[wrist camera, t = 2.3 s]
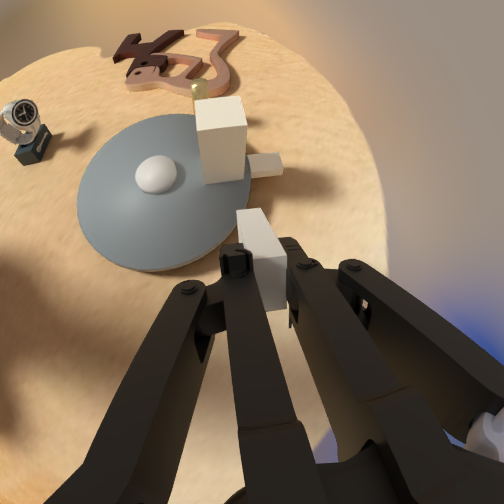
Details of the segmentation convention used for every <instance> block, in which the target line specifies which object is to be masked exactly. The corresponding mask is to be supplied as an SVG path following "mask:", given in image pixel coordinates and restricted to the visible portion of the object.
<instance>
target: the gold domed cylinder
mask: <svg viewBox="0 0 504 504" xmlns="http://www.w3.org/2000/svg"><path fill="white" fill-rule="evenodd" d="M190 85H191V93H192V101H193V109H194V115H195V104H194V101H195V100H202V99H209V98H208V83H207V80H206V79H203V78H198V79H194V80H193V81H191V83H190Z"/></svg>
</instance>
